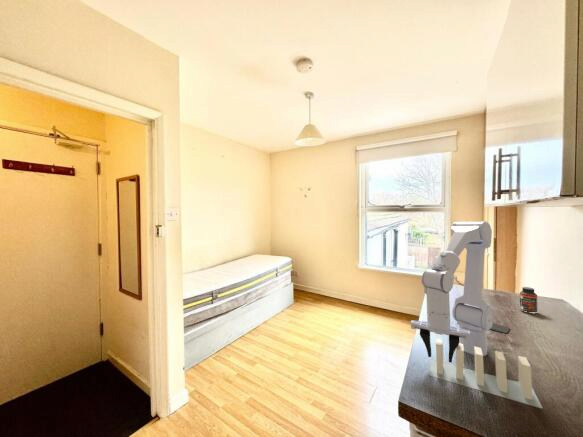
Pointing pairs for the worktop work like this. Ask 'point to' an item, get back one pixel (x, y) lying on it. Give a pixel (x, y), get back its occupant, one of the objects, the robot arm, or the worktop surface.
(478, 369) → the domino
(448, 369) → the board
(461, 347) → the domino
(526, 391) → the domino
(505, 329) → the smartphone
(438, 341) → the head domino
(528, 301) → the supplement bottle
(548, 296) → the worktop surface
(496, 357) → the domino
